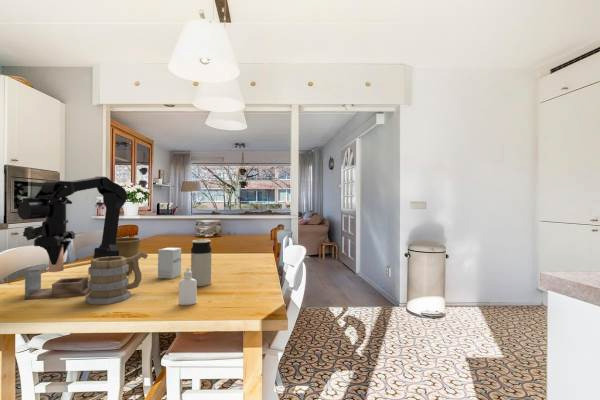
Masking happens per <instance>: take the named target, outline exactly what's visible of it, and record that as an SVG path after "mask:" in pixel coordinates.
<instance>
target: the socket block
mask: <svg viewBox="0 0 600 400" xmlns="http://www.w3.org/2000/svg"><path fill="white" fill-rule="evenodd" d="M46 269H49V263H46V264H36V265H35V266H31V267H30V268H27V269H25V270H24V300H36V299H38V298H40V299H51V298H52V299H53V298H66V297H78V296H79V297H81V296H87V295H88V293H90V289H89V288H88V282H89V277H71V278H69V277H67V278H66V277H65V278H60V279H59V280H56V281H55V282H54V283H52V284H51V287H50V288H47V287H46V288H42V271H44V270H46Z"/></svg>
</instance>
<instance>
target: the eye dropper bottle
mask: <svg viewBox="0 0 600 400" xmlns="http://www.w3.org/2000/svg"><path fill="white" fill-rule="evenodd" d="M183 273H184V274H183V278H181V279H180V280H179V282H178V304H179V305H180V306H191V305H195V304H197V298H198V297H197V296H198V294H197V291H198V289H197V281H196V280H195V279H193V278H192V272H191V269H190V267H187V268H186V270H185V271H184V272H183Z"/></svg>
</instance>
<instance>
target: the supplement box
mask: <svg viewBox="0 0 600 400" xmlns="http://www.w3.org/2000/svg"><path fill="white" fill-rule="evenodd" d="M157 251H158V253H157V278H158V279H170V280H172V279H174V278H176V277H179V276H181V275H182V247H165V248H159V249H158V250H157Z"/></svg>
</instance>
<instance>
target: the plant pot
mask: <svg viewBox="0 0 600 400" xmlns="http://www.w3.org/2000/svg"><path fill="white" fill-rule="evenodd" d="M141 241H142V239H141V238H140V237H131V236H130V237H129V236H128V237H127V236H126V237H116V246H117V248H118V250H119V256H121V257H125V258H131V257H133V256H135V255H137V254H138V253H140V246H141ZM127 264H128V265H129V271H128V272H127V274H126V276H127V275H131V274H132V273H133V269H132V262H129V263H127Z"/></svg>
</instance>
